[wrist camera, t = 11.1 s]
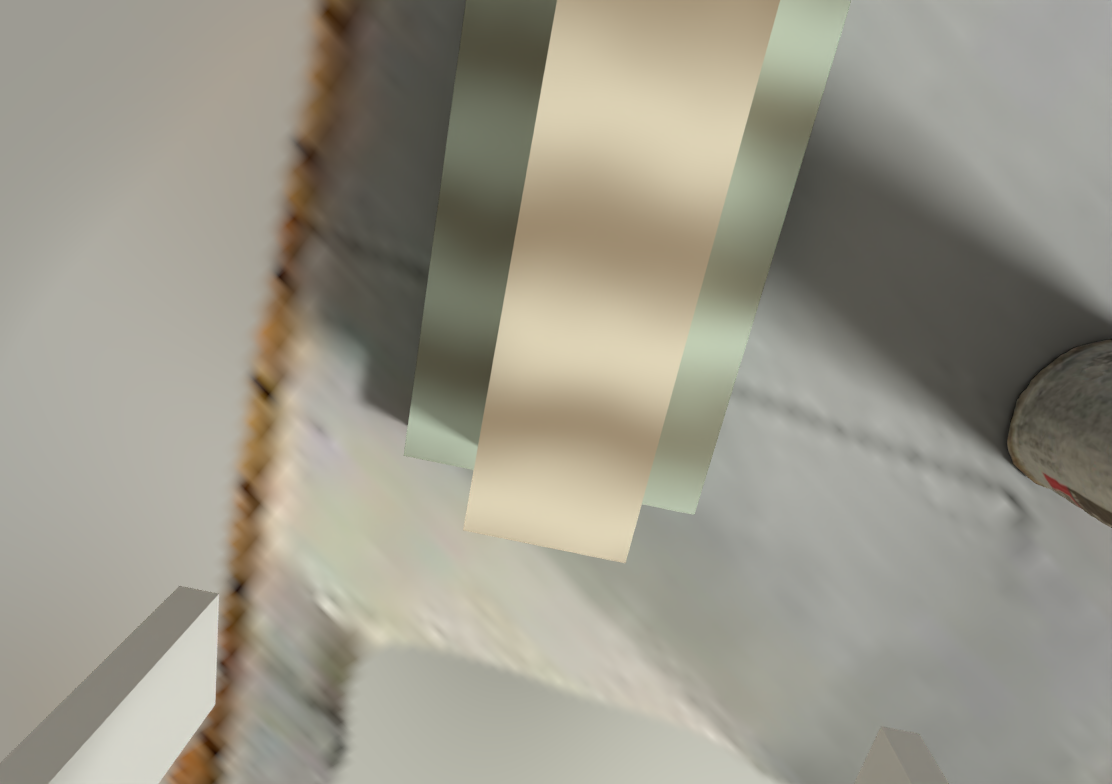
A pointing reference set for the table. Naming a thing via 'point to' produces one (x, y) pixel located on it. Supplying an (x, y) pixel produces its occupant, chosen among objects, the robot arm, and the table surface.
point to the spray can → (1069, 429)
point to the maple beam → (610, 261)
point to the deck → (493, 210)
